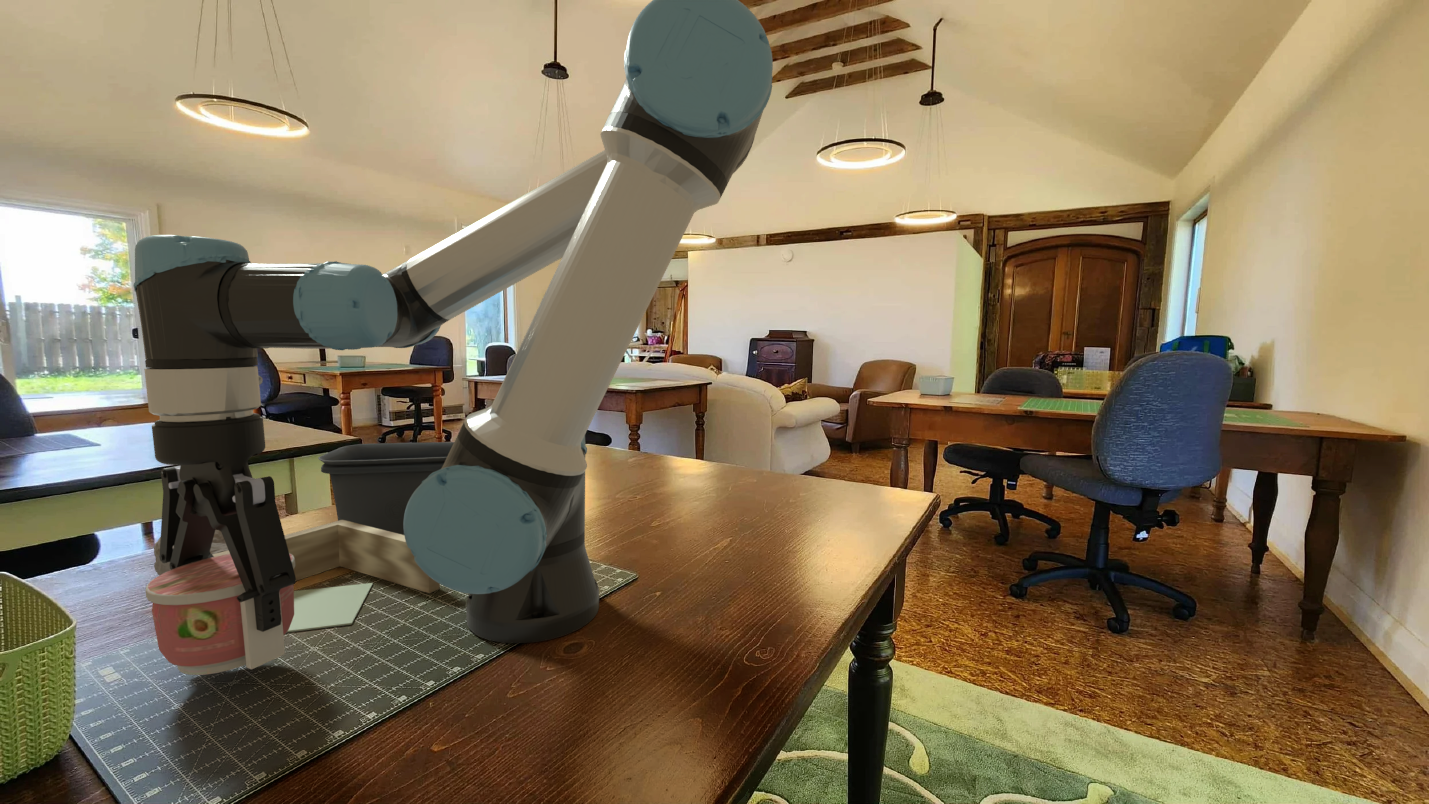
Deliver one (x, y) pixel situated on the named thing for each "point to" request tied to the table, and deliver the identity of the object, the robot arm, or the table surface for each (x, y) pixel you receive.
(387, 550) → the corner walls
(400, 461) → the storage bin
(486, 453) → the robot arm
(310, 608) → the plate
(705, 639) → the table surface
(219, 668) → the container
